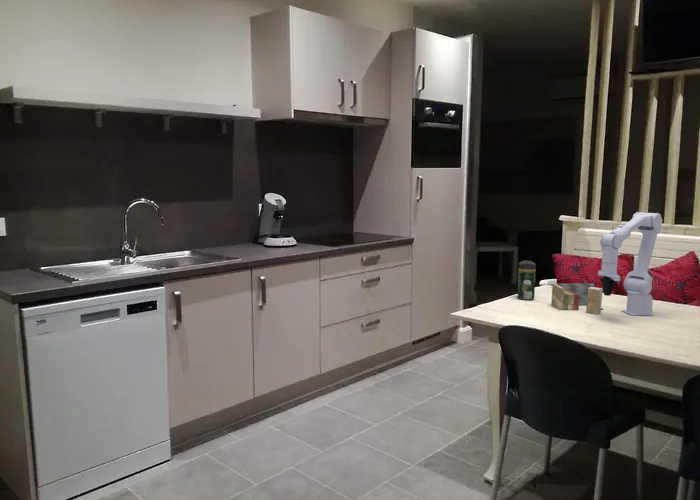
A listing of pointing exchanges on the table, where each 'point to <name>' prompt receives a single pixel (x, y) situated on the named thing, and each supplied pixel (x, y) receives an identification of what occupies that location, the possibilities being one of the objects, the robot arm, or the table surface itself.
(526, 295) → the coffee jar
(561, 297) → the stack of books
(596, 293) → the box
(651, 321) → the table surface
